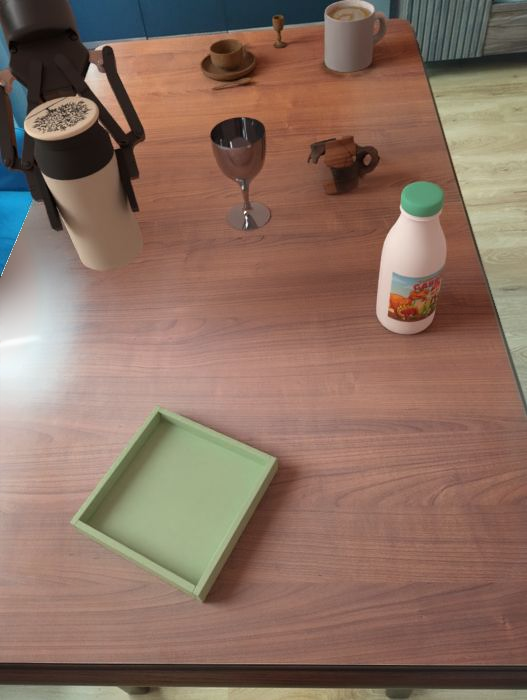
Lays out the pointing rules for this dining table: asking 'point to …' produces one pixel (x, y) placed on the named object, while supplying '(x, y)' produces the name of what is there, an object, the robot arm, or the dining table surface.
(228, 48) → the place setting
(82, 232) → the travel mug
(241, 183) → the wine glass
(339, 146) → the pottery mug
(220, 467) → the tray
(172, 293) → the dining table surface
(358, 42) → the coffee mug
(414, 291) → the milk bottle
